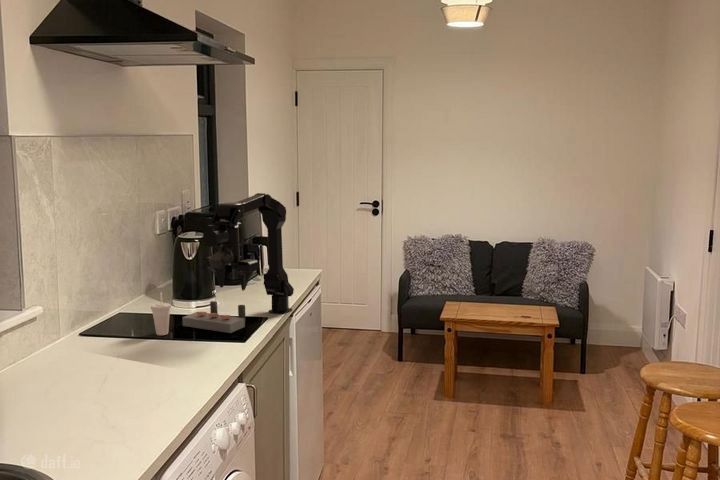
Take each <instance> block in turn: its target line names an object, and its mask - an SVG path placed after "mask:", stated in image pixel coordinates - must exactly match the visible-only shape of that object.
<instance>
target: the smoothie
mask: <svg viewBox="0 0 720 480" xmlns="http://www.w3.org/2000/svg"><path fill="white" fill-rule="evenodd" d="M159 294H160V296H159V297H160V302H157V303H153V304H151V305H150V310H151V312H152V317H153V323H154V328H155V334H156V335H157V336H165V335H168V334H169V329H170V328H169V327H170V314H171V313H170V312H171V308H172V304H171V303H170V302H163V292H162V291H160V293H159Z"/></svg>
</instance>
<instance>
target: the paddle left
mask: <svg viewBox="0 0 720 480" xmlns="http://www.w3.org/2000/svg"><path fill="white" fill-rule="evenodd" d="M196 312H197V315H201V316H202V315H207V313H208V312H207V311H203V310H202V311H196Z"/></svg>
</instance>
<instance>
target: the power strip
mask: <svg viewBox="0 0 720 480" xmlns="http://www.w3.org/2000/svg"><path fill="white" fill-rule="evenodd" d="M197 312H198V311H196V312H193V313H190V314H187V315H185V316H182V327H189V328H195V329H201V330H207V331H208V330H209V331H216V332H220V333H227V334H232V333H234V332H236V331H238V330H242V329H243V328H245V327H246V323H245V318H239V317H237V316H231V315H230V318H229V319H222V318H220V316H221V315H222V314H218V317H208V315H209V314H210V313H211V312H207V315H202V316H201V315H197Z"/></svg>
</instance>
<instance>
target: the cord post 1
mask: <svg viewBox="0 0 720 480" xmlns="http://www.w3.org/2000/svg"><path fill="white" fill-rule="evenodd" d="M209 306H210V309H209V311H210V313H217V314H218V315H219V313H218V302H217V300H214V301H213V300H212V301H210V302H209Z"/></svg>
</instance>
